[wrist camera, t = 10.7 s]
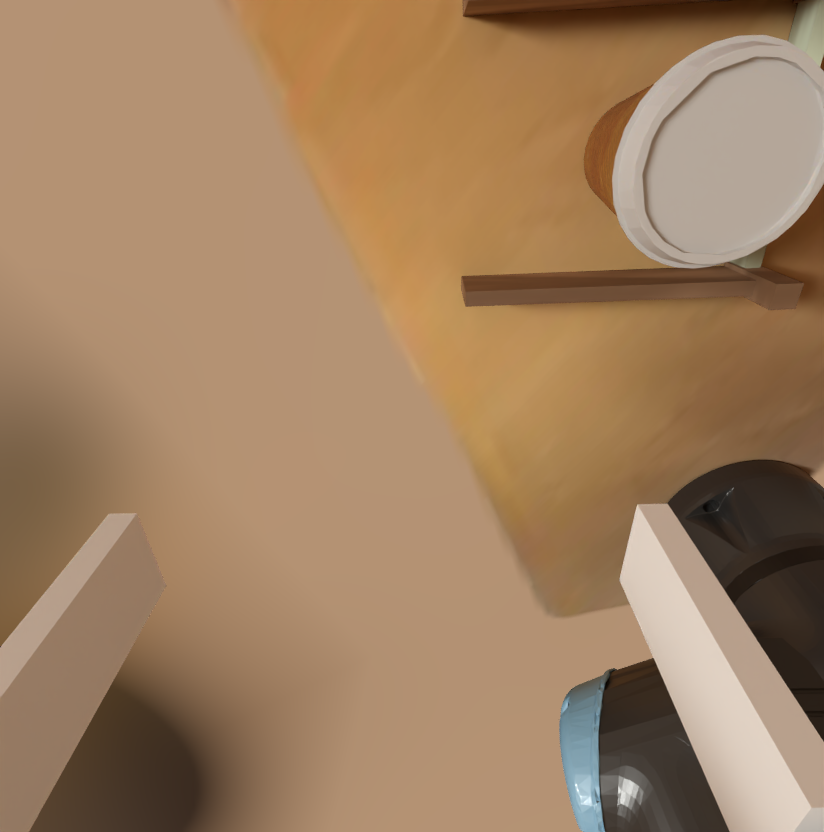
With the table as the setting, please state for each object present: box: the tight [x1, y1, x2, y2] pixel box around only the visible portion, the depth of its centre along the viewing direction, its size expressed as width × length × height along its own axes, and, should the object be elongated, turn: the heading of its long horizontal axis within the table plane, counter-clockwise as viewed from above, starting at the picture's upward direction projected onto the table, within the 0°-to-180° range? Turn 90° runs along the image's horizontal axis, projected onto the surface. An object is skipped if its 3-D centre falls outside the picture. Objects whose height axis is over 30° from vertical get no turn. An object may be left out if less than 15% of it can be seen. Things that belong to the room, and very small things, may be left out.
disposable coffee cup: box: [584, 35, 824, 268], centre depth 27 cm, size 10×10×12 cm
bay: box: [462, 0, 824, 310], centre depth 30 cm, size 18×20×6 cm
